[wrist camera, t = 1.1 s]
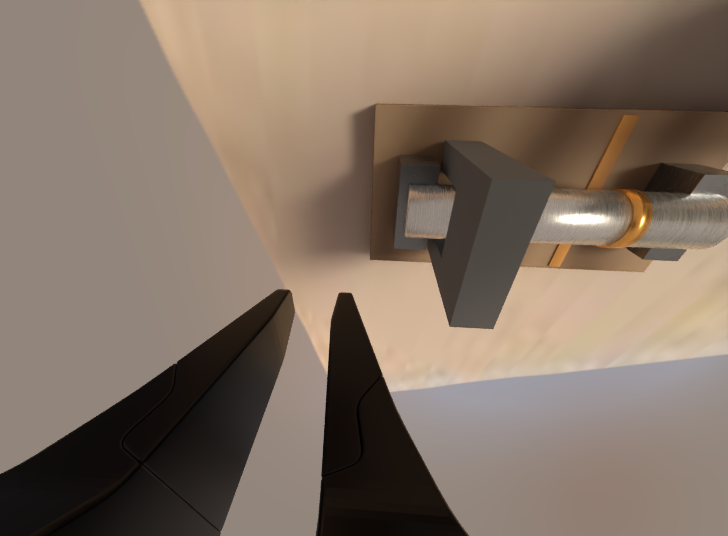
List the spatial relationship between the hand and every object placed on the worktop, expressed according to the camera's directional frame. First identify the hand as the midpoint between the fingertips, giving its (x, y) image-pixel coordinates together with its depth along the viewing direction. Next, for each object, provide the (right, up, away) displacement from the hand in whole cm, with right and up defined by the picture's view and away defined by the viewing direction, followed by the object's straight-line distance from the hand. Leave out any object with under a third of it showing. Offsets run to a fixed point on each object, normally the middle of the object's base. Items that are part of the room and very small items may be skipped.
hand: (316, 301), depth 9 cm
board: (+12, +6, +9) cm, 17 cm away
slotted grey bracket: (+7, +5, +8) cm, 12 cm away
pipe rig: (+12, +5, +8) cm, 16 cm away
